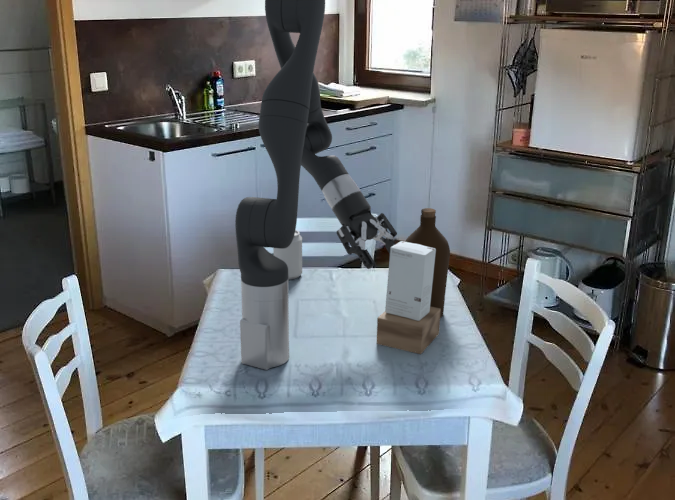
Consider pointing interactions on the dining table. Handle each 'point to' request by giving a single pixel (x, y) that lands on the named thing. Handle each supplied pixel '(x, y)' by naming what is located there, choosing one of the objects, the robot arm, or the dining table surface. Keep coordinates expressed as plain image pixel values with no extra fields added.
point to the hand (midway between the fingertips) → (384, 261)
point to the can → (292, 256)
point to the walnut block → (408, 331)
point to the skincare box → (410, 280)
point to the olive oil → (434, 239)
